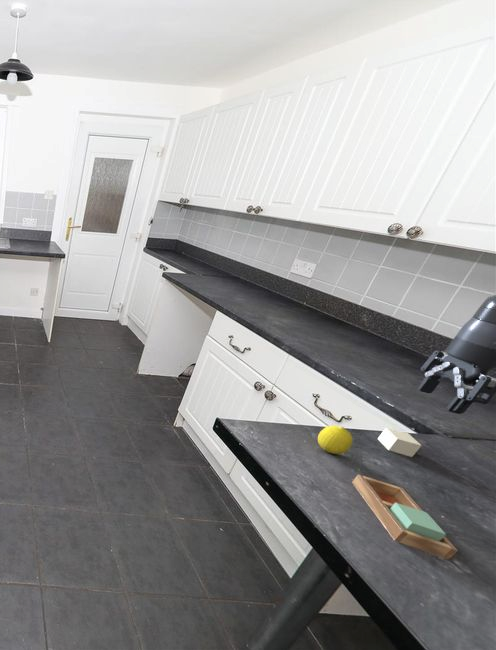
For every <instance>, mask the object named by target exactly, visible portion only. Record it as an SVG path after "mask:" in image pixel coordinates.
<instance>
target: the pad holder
mask: <svg viewBox="0 0 496 650" xmlns="http://www.w3.org/2000/svg"><path fill="white" fill-rule="evenodd" d="M351 483H352V485H353V486H354V488H355V489H356V490H357V491H358V493H359V494H360V496H361V497H362V498H363V500H364V501H365V503H366V504H367V505H368V507H369V508H370V509H371V511H372V512H373V514H374V515H375V516H376V517H377V519H378V521H380V523H381V524H382V526H383V527H384V528H385V530H386V531H387V532H388V534H389V535H390V537H391V538H392V539H393V541H395V542H397V543H401V544H402V545H405V546H408V547H412V548H415V549H416V550H420V551H423V552H426V553H429V554H431V555H435V556H437V557H441V558H442V559H446V560H448V561H449V560H450V559H452V558H453V556H454V555H456V554H457V553H458V552H459V551H458V550H459V549H457V548H456V547H455V545H453V543H452V542H451V541H450V540H449V539H448V537H447V536H446V535H445V536H444V537H443V538H442V539H441V540H440V541H436V540H433V539H430V538H428V537H425V536H422V535H419V534H416V533H413V532H410V531H407V530H405V529H404V528H403V526H402V525H401V524H400V523H399V521H398V520H397V519H396V518H395V516H394V515H393V514H392V512H391V511H390V510H389V509H390V508H391V507H392V506H393V505H394V504H395V503H399V504H402V505H405V506H408V507H411V508H414V509H417V510H420V511H423V509H422V508H421V507H420V506H419V505H418V503H416V501H415V500H414V499H413V498H412V496H410V495H409V494H408V492H406V490H405V489H404V488H403V487H401V486H398V485H394V484H391V483H388V482H384V481H382V480H377V479H375V478H372V477H368V476H366V475H362V474H360V473H359V474H356V476H355V478H353V480H352V482H351Z"/></svg>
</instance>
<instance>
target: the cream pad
mask: <svg viewBox="0 0 496 650" xmlns="http://www.w3.org/2000/svg"><path fill="white" fill-rule="evenodd" d="M377 440H378V441H379V442H380V443H381V444H382V446H383V447H384V448H385V449H387V451H390V452H392V453H397V454H400V455H403V456H406V457H410V458H413V457H414V456H415V455H416V453H417V452H418V451H419V449H420V448H421V447H422V444H421V443H419V442H418V441H417V440H416V438H414V437H413V436H412V435H411V434H410V433H407V432H405V431H400V430H396V429H393V428H389V427H385V428H384V429H383V431H382V432H381V433H380V434H379V435H378V437H377Z"/></svg>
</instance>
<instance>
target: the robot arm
mask: <svg viewBox="0 0 496 650" xmlns="http://www.w3.org/2000/svg"><path fill="white" fill-rule="evenodd" d="M433 365H434V366H433ZM432 366H433V367H432ZM493 369H496V293H494V294H491V295H489V296H488V297H486V298H485V300H484V301H483V302H482V303H481V305H480V306H479V307H478V309H477V310H476V311H475V312H474V314H473V315H472V316H471V318H470V319H468V320H467V322H465V323H464V324H463V325H462V327H461V328H460V330H459V331H458V332H457V334H456V335H455V336H454V338H453V339H452V340H451V341H450V343H449V344H448V346H447V347H446V348H445V350H444V351H442V350H434V351H433V352H432V354H430V356H429V357H428V359H427V360H426V361H425V362H424V363H423V364H422V365H421V367H420V371H421V372H424V378H423V380H422V381H421V382H420V384H419V386H418V387H417V389H418V391H419V392H421V393H425V394H432V393H433V392H434V391H435V390H436V388H437V387H438V386H439V384H440V383H441V380H443V379H446V378H448V379H449V380H451V381H452V382H453V385H454V388H456V389H457V390H456V394H457V395H456V396H455V397H454V398H453V399H452V400H451V402H450V403H449V404H448V405H447V407H446V408H445V409H446V411H448V412H449V413H453V414H457V415H462V414H464V413H465V412H466V411H467V410H468V408H469V407H470V406H471V405H472V404H473V403H478V404H482V405H487V404H488V403H489V402H490V401H491V400H492V399H493V397H494V396H495V394H496V377H492V376H490V375H489V373H490V371H491V370H493ZM467 391H468V392H469V393H468V394H467ZM480 394H482V395H481V396H479V395H480Z"/></svg>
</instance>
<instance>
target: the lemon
mask: <svg viewBox="0 0 496 650" xmlns="http://www.w3.org/2000/svg"><path fill="white" fill-rule="evenodd" d="M353 441H354V440H353V436H352V434H351V432H350V431H348V430H347V429H346V428H345V427H344V426H339V425H328V426H326V427H324V428H322V430H320V431H319V433H318V436H317V442H318V445H319V447H321V449H322V450H323V451H325V452H326V453H329V454H333V455H342V454H344V453H347V452H348V451H349V450H350V449H351V447H352V446H353Z"/></svg>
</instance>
